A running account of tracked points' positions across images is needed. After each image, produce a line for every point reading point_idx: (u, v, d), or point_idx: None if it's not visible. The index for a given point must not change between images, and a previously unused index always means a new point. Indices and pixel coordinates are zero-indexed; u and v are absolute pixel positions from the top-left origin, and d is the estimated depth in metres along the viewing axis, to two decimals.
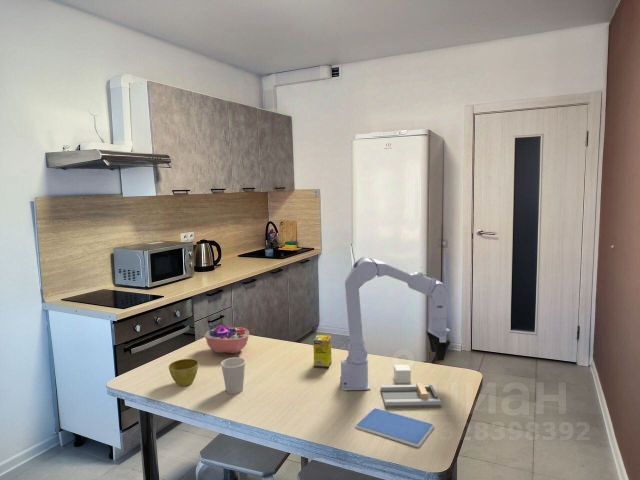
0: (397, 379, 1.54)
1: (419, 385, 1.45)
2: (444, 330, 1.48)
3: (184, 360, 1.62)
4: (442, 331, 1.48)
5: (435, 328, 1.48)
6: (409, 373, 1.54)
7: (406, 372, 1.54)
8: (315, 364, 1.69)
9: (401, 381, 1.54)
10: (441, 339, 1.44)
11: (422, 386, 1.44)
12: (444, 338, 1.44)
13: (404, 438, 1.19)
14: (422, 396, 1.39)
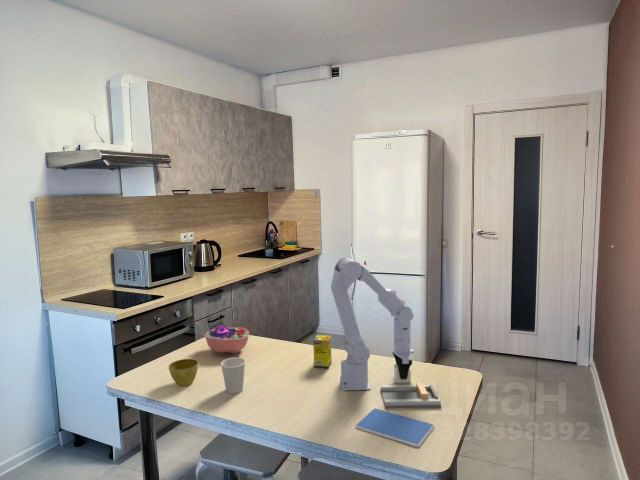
0: (397, 379, 1.54)
1: (419, 385, 1.45)
2: (408, 351, 1.53)
3: (184, 360, 1.62)
4: (406, 352, 1.53)
5: (399, 349, 1.53)
6: (409, 373, 1.54)
7: None
8: (315, 364, 1.69)
9: (401, 381, 1.54)
10: (404, 360, 1.49)
11: (422, 386, 1.44)
12: (407, 360, 1.49)
13: (404, 438, 1.19)
14: (422, 396, 1.39)
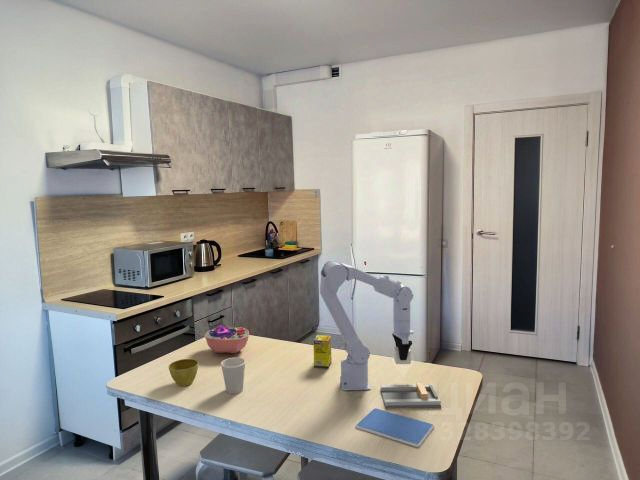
0: (397, 360, 1.53)
1: (419, 385, 1.45)
2: (408, 332, 1.52)
3: (184, 360, 1.62)
4: (405, 333, 1.52)
5: (399, 330, 1.52)
6: (409, 354, 1.53)
7: None
8: (315, 364, 1.69)
9: (401, 362, 1.53)
10: (404, 341, 1.47)
11: (422, 386, 1.44)
12: (406, 340, 1.47)
13: (404, 438, 1.19)
14: (422, 396, 1.39)
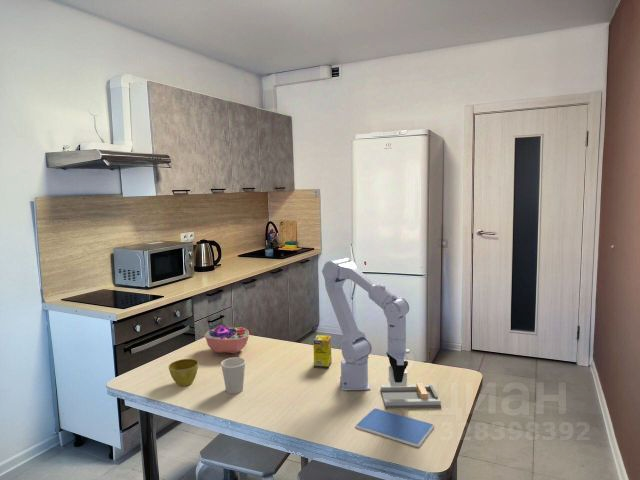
0: (392, 382, 1.40)
1: (419, 385, 1.45)
2: (403, 351, 1.39)
3: (184, 360, 1.62)
4: (401, 352, 1.38)
5: (393, 349, 1.39)
6: (405, 376, 1.40)
7: None
8: (315, 364, 1.69)
9: (396, 385, 1.40)
10: (398, 362, 1.34)
11: (422, 386, 1.44)
12: (402, 361, 1.34)
13: (404, 438, 1.19)
14: (422, 396, 1.39)
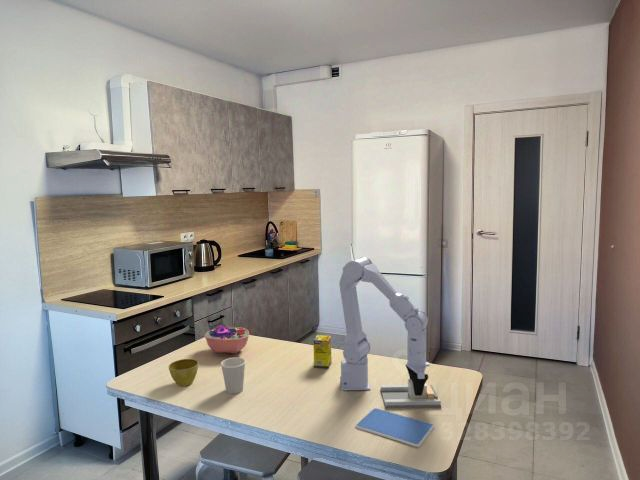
0: (412, 395, 1.40)
1: None
2: (423, 364, 1.39)
3: (184, 360, 1.62)
4: (421, 366, 1.39)
5: (414, 363, 1.39)
6: (425, 389, 1.40)
7: None
8: (315, 364, 1.69)
9: (416, 398, 1.40)
10: (419, 375, 1.34)
11: (428, 386, 1.44)
12: (422, 374, 1.34)
13: (404, 438, 1.19)
14: (428, 396, 1.39)
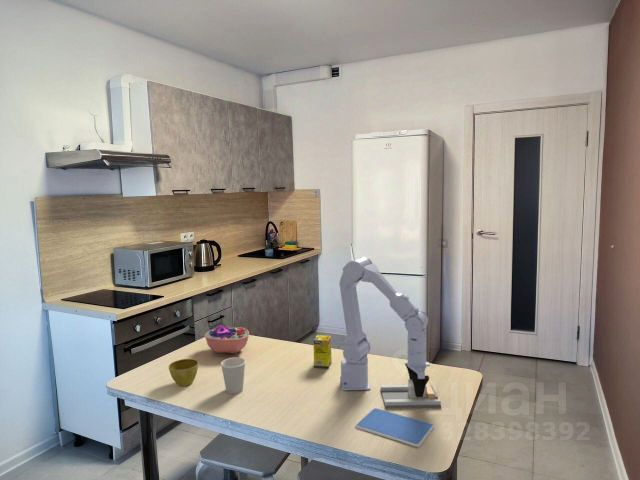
0: (412, 396, 1.40)
1: None
2: (423, 364, 1.39)
3: (184, 360, 1.62)
4: (421, 366, 1.39)
5: (414, 363, 1.39)
6: (425, 389, 1.40)
7: None
8: (315, 364, 1.69)
9: (416, 398, 1.40)
10: (419, 375, 1.35)
11: (428, 386, 1.44)
12: (422, 374, 1.34)
13: (404, 438, 1.19)
14: (429, 396, 1.39)
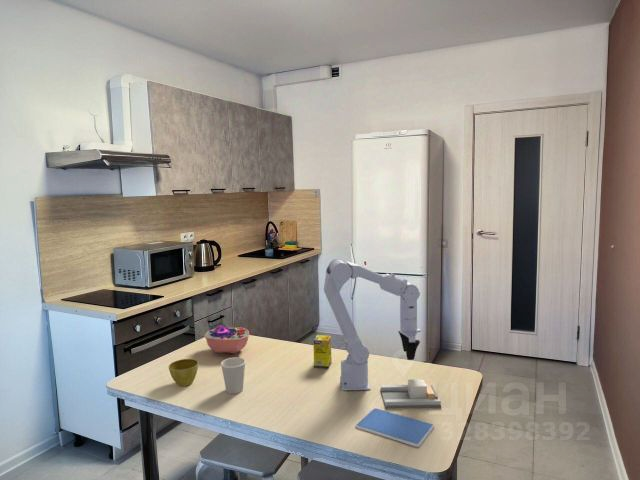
0: (412, 396, 1.40)
1: None
2: (414, 330, 1.51)
3: (184, 360, 1.62)
4: (412, 331, 1.51)
5: (406, 328, 1.51)
6: (425, 389, 1.40)
7: (422, 388, 1.40)
8: (315, 364, 1.69)
9: (416, 398, 1.40)
10: (410, 339, 1.46)
11: (428, 386, 1.44)
12: (413, 338, 1.46)
13: (404, 438, 1.19)
14: (429, 396, 1.39)
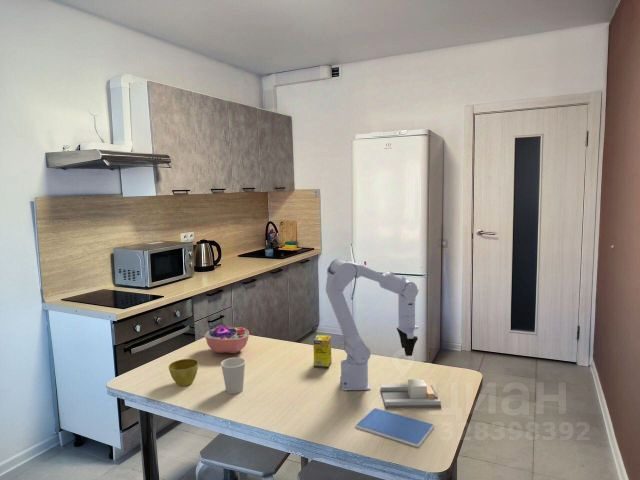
0: (412, 396, 1.40)
1: None
2: (412, 327, 1.54)
3: (184, 360, 1.62)
4: (410, 328, 1.54)
5: (404, 325, 1.54)
6: (425, 389, 1.40)
7: (422, 388, 1.40)
8: (315, 364, 1.69)
9: (416, 398, 1.40)
10: (409, 335, 1.50)
11: (428, 386, 1.44)
12: (411, 334, 1.49)
13: (404, 438, 1.19)
14: (429, 396, 1.39)
